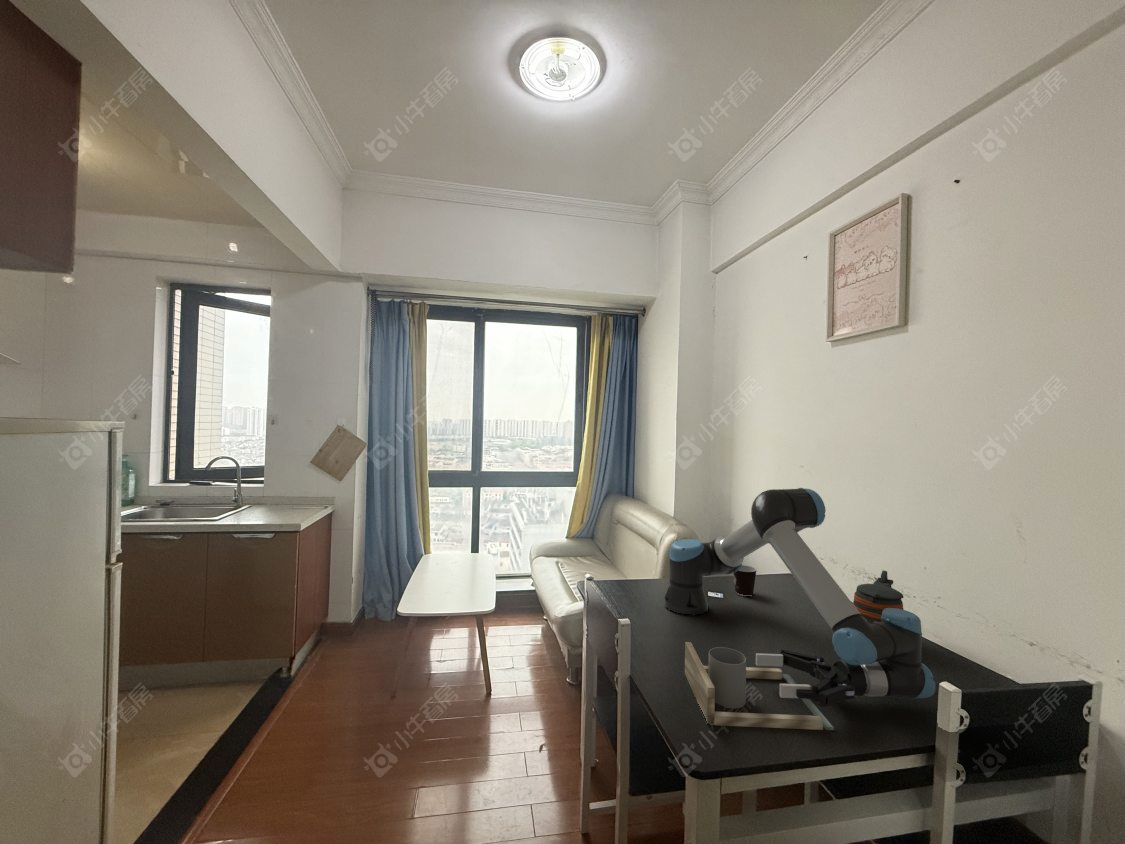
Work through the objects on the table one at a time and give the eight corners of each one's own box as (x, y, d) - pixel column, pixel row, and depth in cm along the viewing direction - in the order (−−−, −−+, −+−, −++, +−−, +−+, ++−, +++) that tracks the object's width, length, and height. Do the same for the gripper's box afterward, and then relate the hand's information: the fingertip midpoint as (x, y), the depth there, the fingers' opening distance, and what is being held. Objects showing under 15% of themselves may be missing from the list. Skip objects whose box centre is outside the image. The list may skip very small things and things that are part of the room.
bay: (707, 724, 98) (707, 687, 98) (684, 672, 119) (685, 641, 119) (833, 730, 97) (834, 692, 97) (788, 676, 118) (788, 645, 118)
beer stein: (854, 624, 152) (855, 563, 152) (909, 637, 142) (910, 573, 142) (845, 644, 137) (846, 577, 137) (906, 660, 128) (907, 589, 128)
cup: (744, 692, 111) (745, 650, 111) (746, 711, 103) (747, 667, 103) (708, 684, 114) (709, 644, 114) (707, 703, 106) (708, 660, 106)
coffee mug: (754, 599, 171) (754, 573, 172) (730, 595, 176) (730, 569, 176) (759, 590, 181) (759, 565, 181) (736, 586, 186) (736, 562, 186)
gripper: (895, 728, 95) (791, 724, 95) (829, 665, 120) (747, 662, 120) (895, 692, 95) (792, 688, 96) (829, 637, 120) (748, 634, 121)
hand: (767, 674), depth 108 cm, fingers open, 13 cm apart
